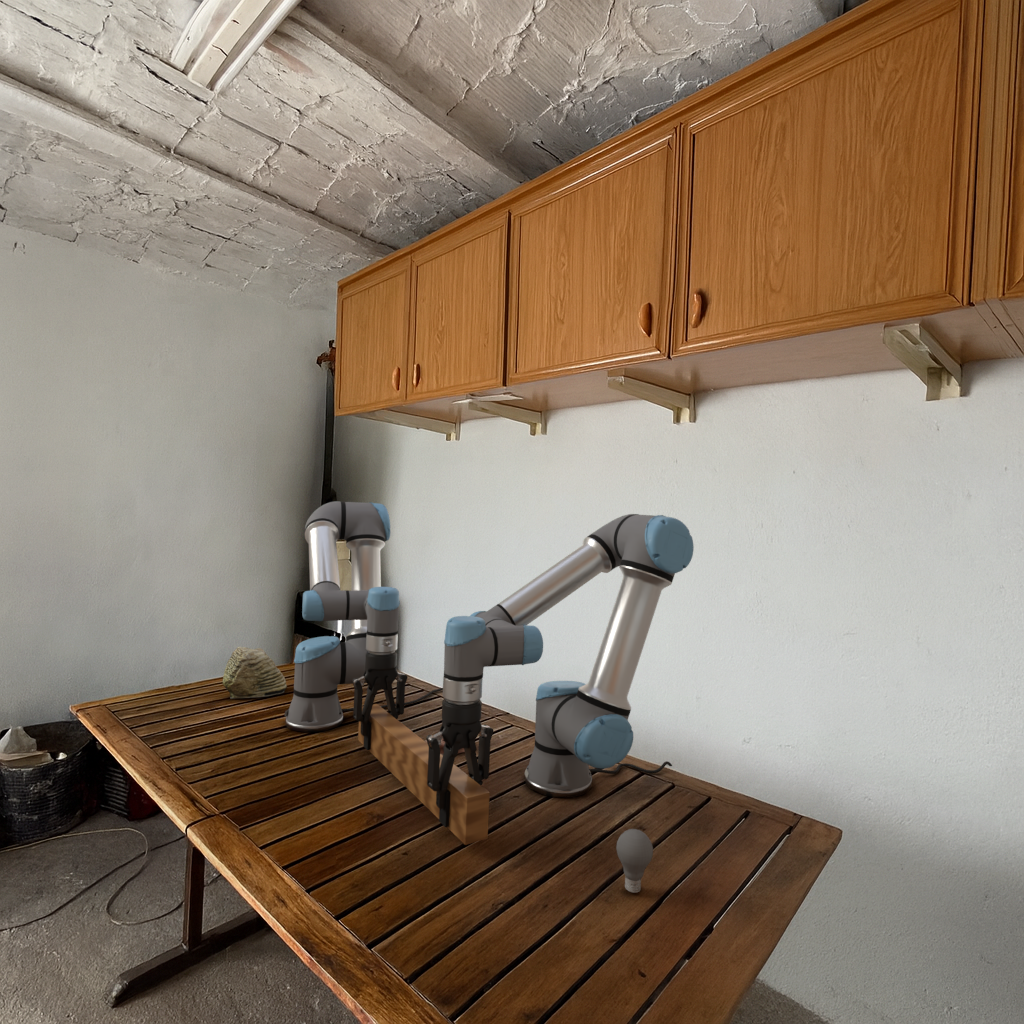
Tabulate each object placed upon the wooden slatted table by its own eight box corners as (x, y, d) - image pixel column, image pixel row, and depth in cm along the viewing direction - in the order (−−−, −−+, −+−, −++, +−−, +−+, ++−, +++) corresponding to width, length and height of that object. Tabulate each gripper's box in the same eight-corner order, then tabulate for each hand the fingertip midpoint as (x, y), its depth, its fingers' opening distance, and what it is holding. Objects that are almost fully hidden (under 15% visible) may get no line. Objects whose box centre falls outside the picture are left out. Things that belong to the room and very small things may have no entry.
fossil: (218, 695, 195) (220, 647, 195) (278, 685, 208) (279, 640, 207) (228, 703, 189) (230, 653, 188) (289, 692, 201) (290, 645, 201)
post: (357, 740, 160) (359, 706, 159) (375, 736, 162) (377, 703, 162) (465, 845, 113) (467, 798, 113) (487, 838, 116) (489, 792, 116)
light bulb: (610, 879, 108) (613, 822, 108) (644, 879, 109) (647, 822, 109) (619, 902, 102) (622, 840, 102) (655, 901, 103) (658, 840, 103)
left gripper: (351, 658, 146) (347, 758, 147) (421, 651, 156) (417, 745, 156) (340, 651, 153) (336, 747, 153) (408, 644, 162) (405, 735, 163)
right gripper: (428, 711, 112) (422, 841, 113) (512, 698, 122) (506, 817, 123) (410, 699, 119) (405, 822, 119) (491, 687, 129) (486, 801, 129)
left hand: (377, 745), depth 155 cm, fingers closed on post, 5 cm apart
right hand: (456, 820), depth 121 cm, fingers closed on post, 5 cm apart
